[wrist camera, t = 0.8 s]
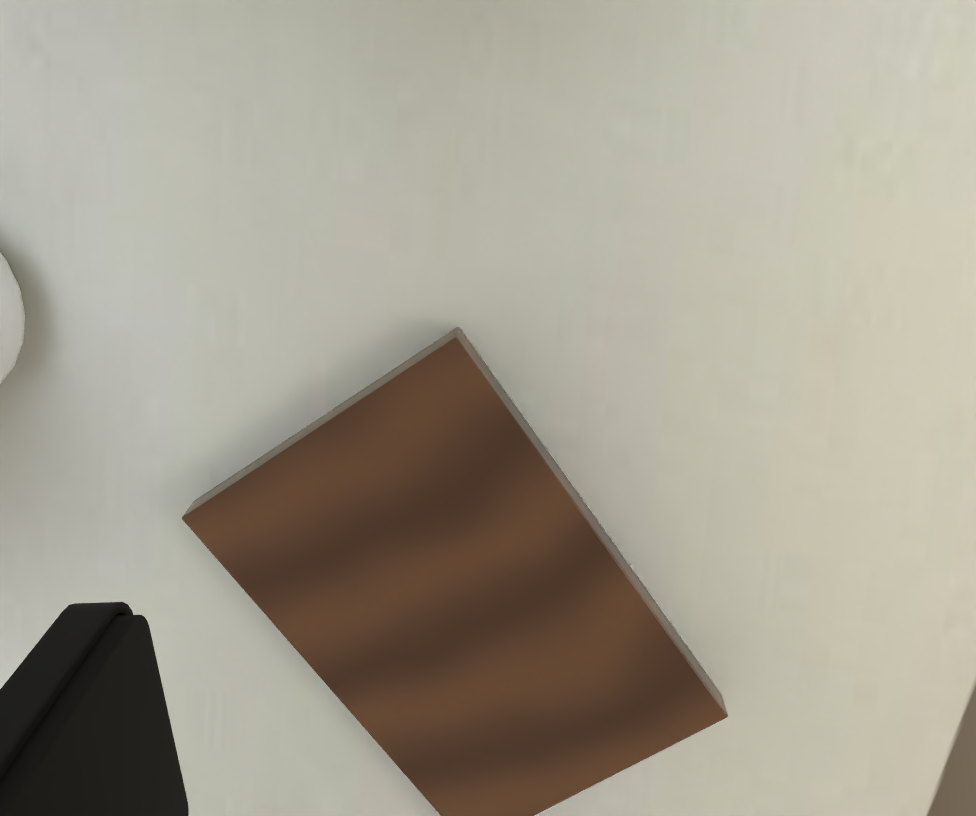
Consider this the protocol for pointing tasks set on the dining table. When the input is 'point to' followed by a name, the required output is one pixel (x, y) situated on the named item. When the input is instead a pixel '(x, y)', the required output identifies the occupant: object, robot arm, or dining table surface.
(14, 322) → the flower vase
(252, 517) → the walnut board
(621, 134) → the dining table surface
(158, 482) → the dining table surface
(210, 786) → the dining table surface
